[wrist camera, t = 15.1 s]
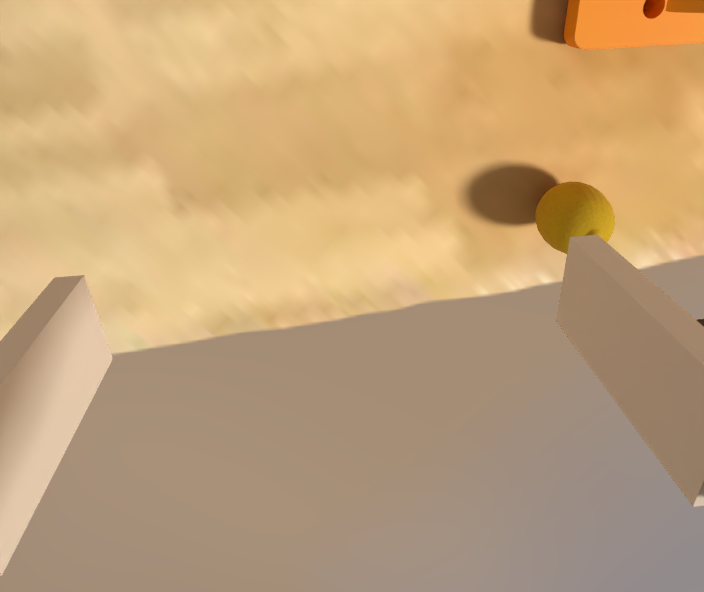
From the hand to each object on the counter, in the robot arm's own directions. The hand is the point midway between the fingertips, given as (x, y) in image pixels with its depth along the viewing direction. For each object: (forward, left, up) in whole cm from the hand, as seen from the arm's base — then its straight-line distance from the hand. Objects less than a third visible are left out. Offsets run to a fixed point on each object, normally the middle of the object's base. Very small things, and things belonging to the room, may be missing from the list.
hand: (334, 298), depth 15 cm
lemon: (+20, -10, -31) cm, 38 cm away
